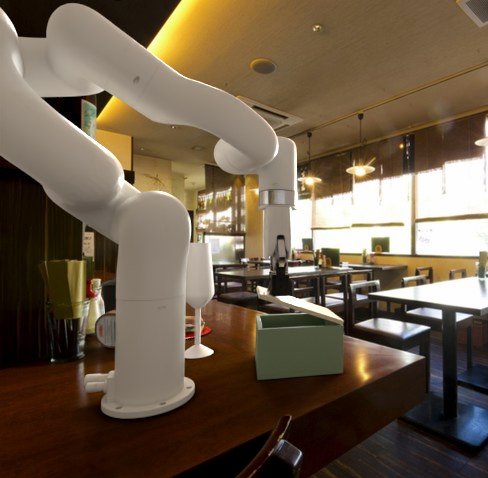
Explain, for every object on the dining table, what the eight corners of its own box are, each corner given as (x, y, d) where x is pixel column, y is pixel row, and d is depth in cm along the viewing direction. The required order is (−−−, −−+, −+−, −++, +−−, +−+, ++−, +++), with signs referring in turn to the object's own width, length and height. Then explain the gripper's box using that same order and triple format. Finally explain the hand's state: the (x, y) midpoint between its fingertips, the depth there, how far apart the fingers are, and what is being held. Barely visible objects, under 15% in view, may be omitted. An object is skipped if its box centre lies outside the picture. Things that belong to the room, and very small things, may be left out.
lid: (258, 298, 58) (268, 271, 58) (256, 288, 70) (264, 266, 70) (342, 325, 61) (351, 299, 61) (326, 311, 73) (333, 290, 74)
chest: (257, 380, 57) (258, 329, 57) (255, 356, 70) (255, 314, 70) (343, 373, 61) (343, 325, 61) (326, 351, 73) (326, 312, 73)
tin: (162, 347, 75) (163, 310, 76) (154, 351, 72) (155, 313, 72) (101, 344, 77) (102, 308, 77) (91, 348, 74) (92, 311, 74)
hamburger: (158, 328, 92) (159, 307, 92) (211, 325, 96) (211, 304, 97) (148, 342, 79) (149, 317, 79) (210, 338, 83) (210, 314, 83)
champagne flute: (173, 356, 69) (175, 242, 70) (194, 347, 76) (196, 243, 76) (200, 359, 67) (202, 242, 68) (219, 350, 74) (221, 243, 74)
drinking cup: (95, 340, 80) (96, 258, 81) (106, 332, 88) (107, 257, 88) (129, 338, 82) (131, 258, 83) (138, 330, 90) (139, 257, 90)
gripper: (257, 206, 72) (257, 288, 72) (260, 195, 56) (261, 301, 55) (291, 207, 74) (291, 286, 74) (304, 196, 57) (304, 299, 57)
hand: (278, 292), depth 65 cm, fingers closed on lid, 6 cm apart
